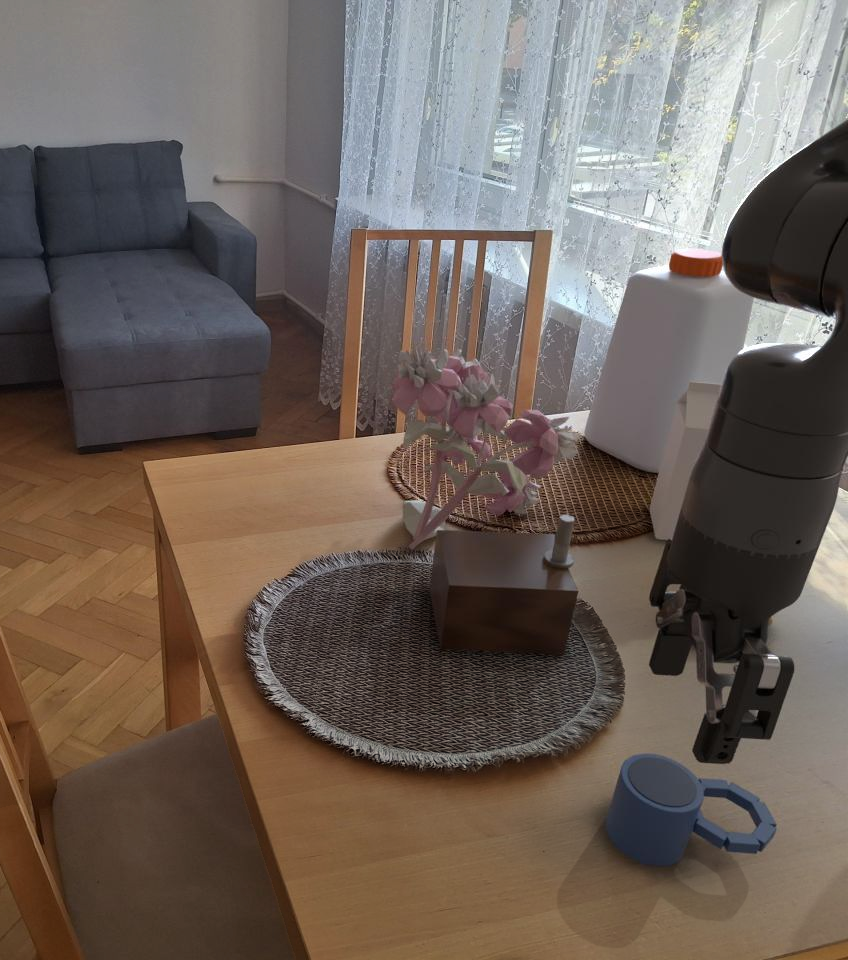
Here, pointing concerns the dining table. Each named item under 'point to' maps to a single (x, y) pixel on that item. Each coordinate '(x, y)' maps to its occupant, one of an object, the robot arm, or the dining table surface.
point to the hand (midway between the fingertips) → (685, 712)
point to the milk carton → (681, 454)
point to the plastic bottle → (664, 352)
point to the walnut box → (504, 590)
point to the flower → (472, 437)
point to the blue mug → (676, 812)
